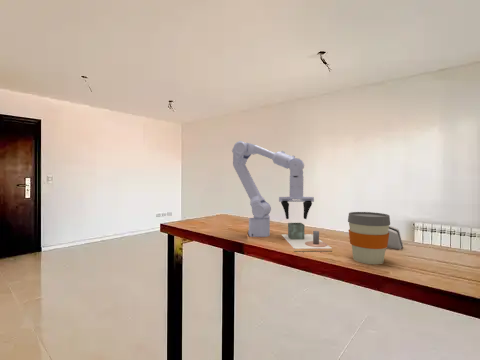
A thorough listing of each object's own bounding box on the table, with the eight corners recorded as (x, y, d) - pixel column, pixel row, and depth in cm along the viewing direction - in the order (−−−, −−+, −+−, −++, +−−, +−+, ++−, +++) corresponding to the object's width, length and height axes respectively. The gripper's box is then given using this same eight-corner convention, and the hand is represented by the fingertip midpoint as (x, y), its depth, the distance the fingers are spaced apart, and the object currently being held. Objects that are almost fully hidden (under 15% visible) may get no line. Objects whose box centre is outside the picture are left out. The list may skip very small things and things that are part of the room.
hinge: (404, 247, 105) (402, 224, 102) (401, 253, 102) (399, 229, 99) (359, 240, 116) (357, 219, 114) (355, 245, 113) (353, 224, 111)
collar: (291, 239, 112) (291, 225, 112) (288, 236, 117) (288, 222, 117) (304, 239, 112) (304, 224, 112) (300, 236, 117) (300, 222, 117)
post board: (294, 251, 97) (294, 234, 97) (281, 237, 121) (281, 223, 121) (332, 251, 98) (332, 234, 98) (312, 236, 122) (312, 223, 122)
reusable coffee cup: (353, 252, 97) (354, 210, 97) (393, 259, 89) (393, 214, 89) (342, 260, 87) (342, 214, 87) (385, 269, 79) (385, 218, 79)
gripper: (281, 187, 110) (281, 220, 110) (316, 187, 111) (316, 220, 111) (278, 186, 117) (277, 217, 117) (311, 186, 118) (310, 217, 118)
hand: (296, 218), depth 114 cm, fingers open, 7 cm apart
